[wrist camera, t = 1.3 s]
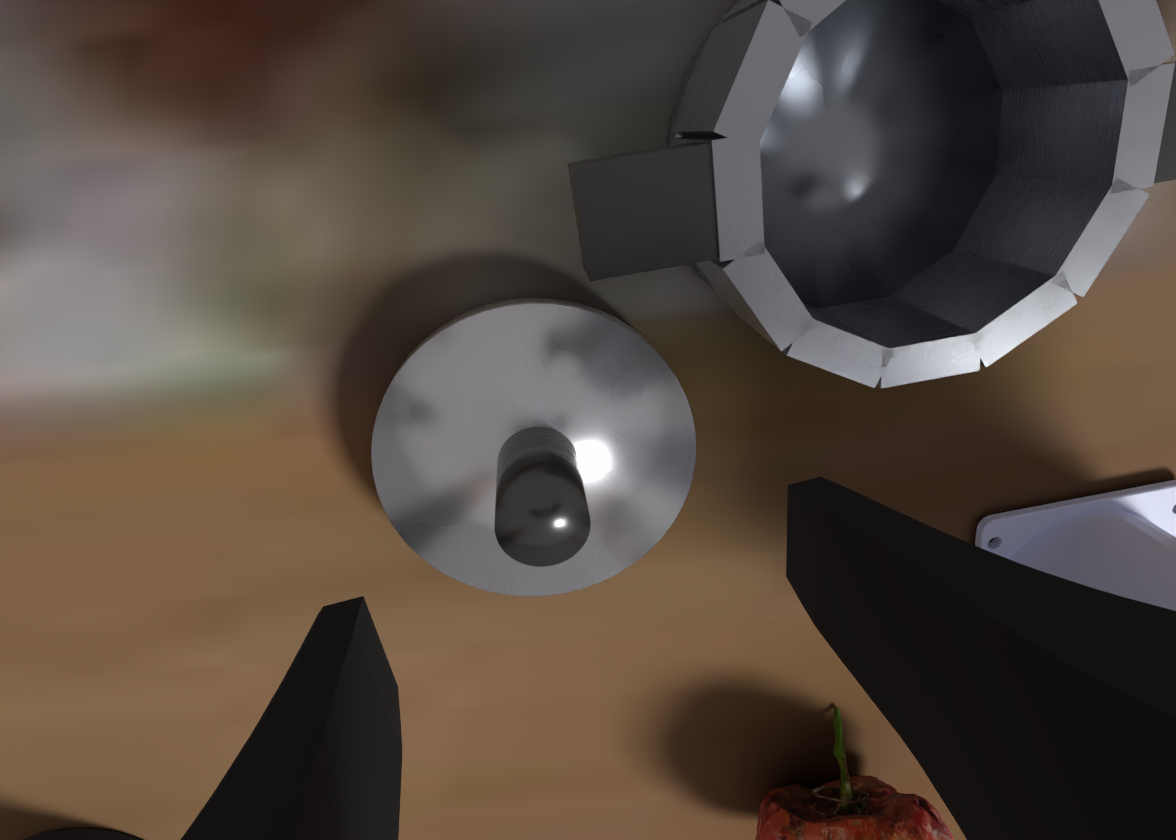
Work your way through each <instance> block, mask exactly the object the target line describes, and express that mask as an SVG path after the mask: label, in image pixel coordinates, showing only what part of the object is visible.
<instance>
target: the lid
mask: <svg viewBox="0 0 1176 840" xmlns="http://www.w3.org/2000/svg"><path fill="white" fill-rule="evenodd" d="M371 459H372V471H373V477H374V481H375V486H376V490H377V494H378V496H379V499H380V501H381V504H382V506H383V508H384V511H385V513H386V514H387V516H388V518H389V520H390V521H391V523H392V525H393V527H394V528H395V529H396V531H397V532H398V533H399V535H400V536H401V537H402V538H403V540H404V541H405V542H406V543H407V544H408V545H409V546H410V547H411V548H412V549H413V550H414V551H415V552H416V553H417V554H418V555H419V556H420V557H421V558H423V559H424V560H425V561H426V562H428V563H429V564H430V565H432V566H433V567H434V568H436V569H438V570H439V571H441V572H443V573H444V574H446V575H448V576H450V577H451V578H454V579H456V580H458V581H460V582H463V583H465V584H467V585H470V586H473V587H476V588H479V589H483V590H486V591H490V592H496V593H501V594H506V595H518V596H546V595H553V594H560V593H566V592H570V591H574V590H578V589H582V588H585V587H588V586H591V585H594V584H596V583H599V582H602V581H604V580H606V579H608V578H610V577H612V576H614V575H616V574H618V573H620V572H621V571H623V570H624V569H626V568H627V567H629V566H630V565H632V564H634V563H635V562H636V561H637V560H639V559H640V558H641V557H642V556H644V555H645V554H646V553H647V552H648V551H650V549H651V548H652V547H653V546H654V545H655V544H656V543H657V542H658V541H659V540H660V539H661V538H662V537H663V536H664V534H665V533H666V532H667V530H668V529H669V528H670V526H671V525H672V524H673V522H674V520H675V519H676V517H677V515H678V514H679V512H680V510H681V508H682V506H683V504H684V502H685V499H686V497H687V494H688V492H689V489H690V486H691V482H692V478H693V474H694V468H695V460H696V433H695V427H694V421H693V415H692V412H691V409H690V406H689V403H688V400H687V397H686V395H685V393H684V391H683V389H682V387H681V385H680V383H679V381H678V379H677V378H676V376H675V375H674V373H673V372H672V370H671V369H670V367H669V366H668V364H667V363H666V362H665V360H664V359H663V357H662V356H661V354H660V353H659V352H658V351H657V350H656V349H655V348H654V347H653V346H652V345H651V344H650V343H649V341H648V340H646V339H645V338H644V337H643V336H642V335H640V334H639V333H638V332H637V331H635V330H634V329H633V328H632V327H630V326H629V325H627V324H625V323H624V322H622V321H620V320H619V319H617V318H616V317H614V316H612V315H610V314H607V313H605V312H603V311H600V310H598V309H596V308H594V307H590V306H587V305H583V304H580V303H576V302H573V301H566V300H560V299H553V298H521V299H512V300H504V301H500V302H496V303H492V304H488V305H484V306H481V307H479V308H476V309H474V310H471V311H468V312H466V313H463V314H461V315H460V316H458V317H456V318H454V319H452V320H451V321H449V322H447V323H445V324H443V325H442V326H441V327H439V328H438V329H437V330H435V331H434V332H433V333H431V334H430V335H429V336H427V337H426V338H425V339H424V340H423V341H422V342H421V343H420V344H419V345H418V346H417V347H416V348H415V349H414V350H413V351H412V352H411V353H410V354H409V356H408V357H407V358H406V360H405V361H404V362H403V363H402V365H401V366H400V367H399V369H398V370H397V372H396V374H395V376H394V378H393V379H392V381H391V383H390V385H389V387H388V389H387V391H386V393H385V395H384V397H383V400H382V403H381V405H380V408H379V410H378V413H377V416H376V421H375V425H374V430H373V434H372V449H371Z"/></svg>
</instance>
